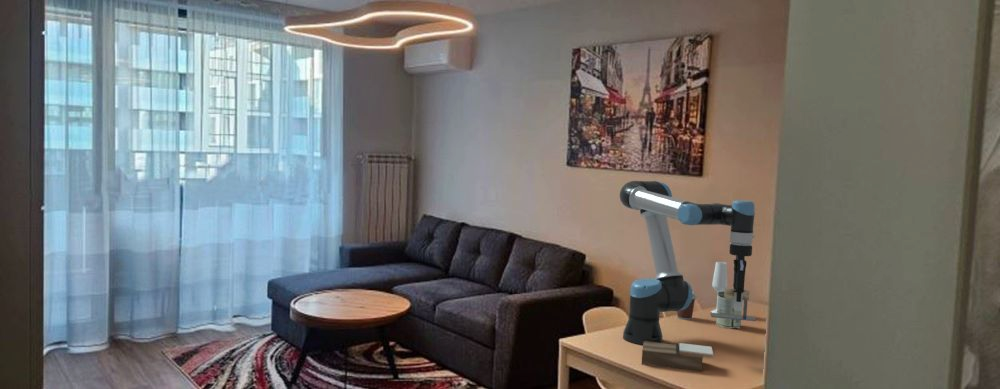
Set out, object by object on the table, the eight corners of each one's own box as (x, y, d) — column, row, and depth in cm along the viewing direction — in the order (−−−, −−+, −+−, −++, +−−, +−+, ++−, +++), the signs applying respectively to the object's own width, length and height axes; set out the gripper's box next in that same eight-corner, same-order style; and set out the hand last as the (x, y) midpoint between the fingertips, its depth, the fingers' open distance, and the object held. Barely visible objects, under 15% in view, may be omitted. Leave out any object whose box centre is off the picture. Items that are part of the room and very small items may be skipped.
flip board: (642, 354, 244) (643, 339, 244) (700, 361, 239) (701, 346, 239) (641, 364, 232) (642, 348, 232) (701, 371, 228) (702, 355, 227)
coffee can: (719, 321, 300) (721, 290, 299) (743, 325, 294) (745, 293, 293) (712, 325, 291) (715, 293, 290) (737, 330, 286) (740, 297, 285)
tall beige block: (753, 317, 241) (755, 290, 241) (756, 321, 235) (757, 293, 235) (710, 313, 245) (711, 286, 244) (711, 317, 239) (713, 289, 238)
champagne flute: (707, 311, 319) (711, 261, 317) (721, 311, 319) (725, 261, 318) (713, 314, 312) (717, 263, 311) (727, 315, 313) (731, 264, 311)
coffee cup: (697, 321, 298) (699, 294, 297) (676, 320, 298) (678, 293, 297) (691, 316, 307) (693, 290, 306) (671, 314, 307) (673, 289, 306)
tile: (679, 346, 239) (679, 342, 239) (711, 350, 237) (711, 346, 236) (679, 353, 231) (679, 350, 230) (712, 357, 228) (713, 354, 228)
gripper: (755, 247, 230) (751, 315, 231) (749, 242, 245) (745, 305, 246) (732, 245, 231) (728, 313, 233) (727, 240, 247) (724, 304, 248)
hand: (737, 309), depth 239 cm, fingers closed on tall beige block, 3 cm apart
